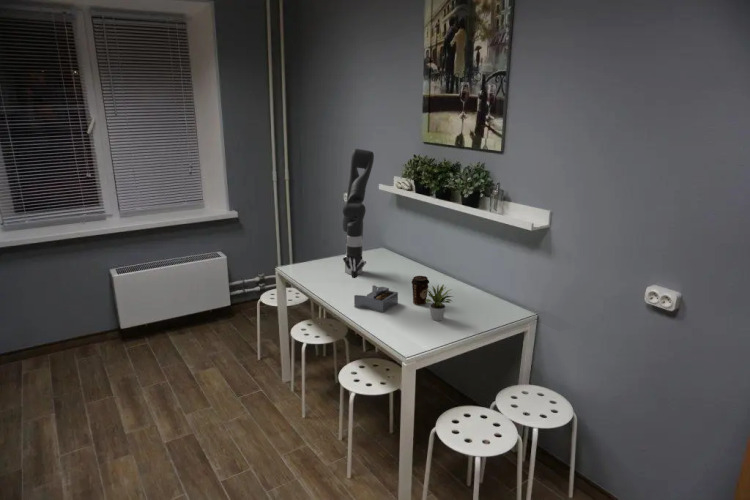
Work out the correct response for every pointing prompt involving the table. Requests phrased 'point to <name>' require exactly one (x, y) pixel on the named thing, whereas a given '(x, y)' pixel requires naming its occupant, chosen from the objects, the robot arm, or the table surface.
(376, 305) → the coupler dock
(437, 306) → the house plant
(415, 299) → the coffee cup
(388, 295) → the block
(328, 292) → the table surface
